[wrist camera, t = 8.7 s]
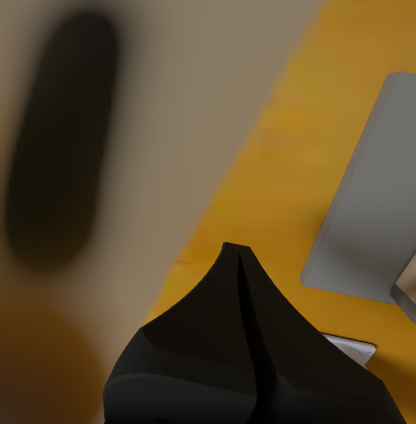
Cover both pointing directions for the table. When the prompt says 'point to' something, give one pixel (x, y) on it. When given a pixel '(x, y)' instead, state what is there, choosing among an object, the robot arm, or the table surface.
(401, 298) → the stool leg
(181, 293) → the table surface
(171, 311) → the robot arm
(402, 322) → the table surface
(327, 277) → the stool seat
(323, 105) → the table surface
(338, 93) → the table surface
